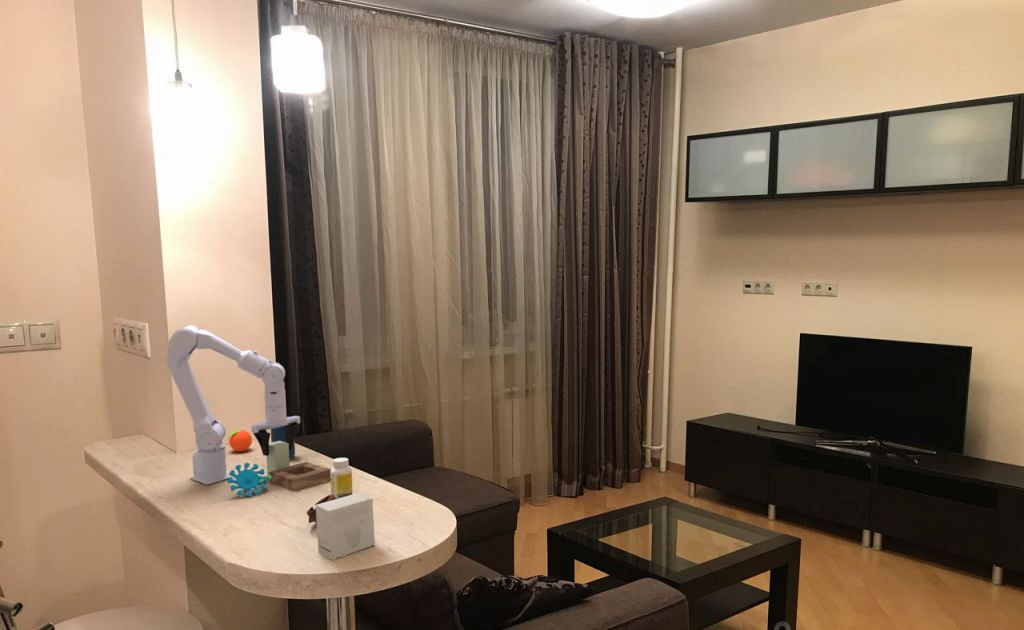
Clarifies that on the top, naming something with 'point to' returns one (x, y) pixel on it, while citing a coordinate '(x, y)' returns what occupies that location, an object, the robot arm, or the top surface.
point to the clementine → (240, 440)
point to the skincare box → (345, 525)
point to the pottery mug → (311, 511)
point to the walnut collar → (299, 476)
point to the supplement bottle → (341, 477)
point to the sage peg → (277, 456)
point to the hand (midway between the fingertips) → (277, 452)
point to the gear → (248, 479)
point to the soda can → (281, 439)
